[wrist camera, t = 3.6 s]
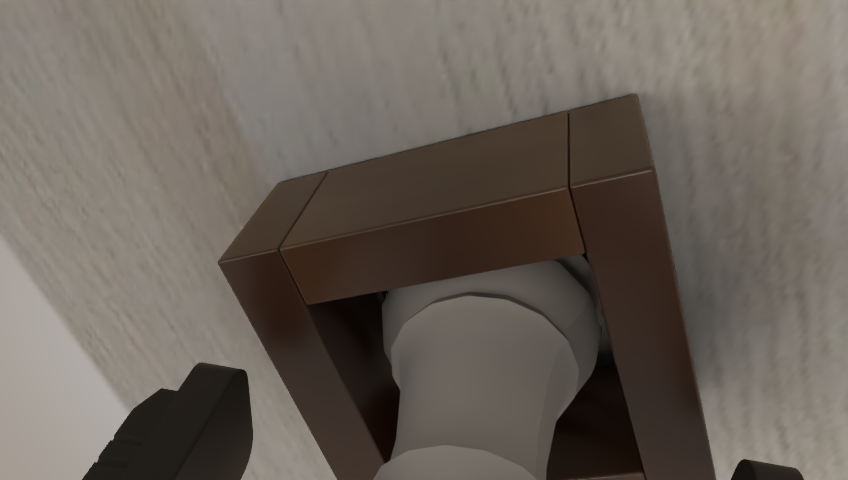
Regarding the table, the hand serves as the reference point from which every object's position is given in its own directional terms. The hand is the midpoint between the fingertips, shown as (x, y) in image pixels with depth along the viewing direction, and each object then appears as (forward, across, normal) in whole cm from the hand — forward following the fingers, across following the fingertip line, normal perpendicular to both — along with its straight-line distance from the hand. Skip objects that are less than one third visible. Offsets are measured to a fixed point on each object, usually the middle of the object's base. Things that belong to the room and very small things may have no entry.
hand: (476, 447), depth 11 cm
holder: (+4, 0, 0) cm, 4 cm away
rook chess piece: (+4, 0, 0) cm, 4 cm away
